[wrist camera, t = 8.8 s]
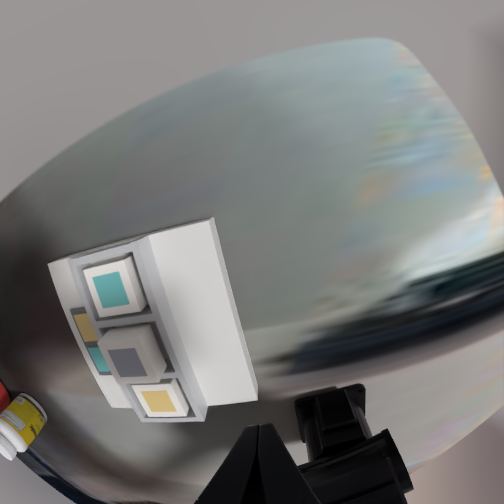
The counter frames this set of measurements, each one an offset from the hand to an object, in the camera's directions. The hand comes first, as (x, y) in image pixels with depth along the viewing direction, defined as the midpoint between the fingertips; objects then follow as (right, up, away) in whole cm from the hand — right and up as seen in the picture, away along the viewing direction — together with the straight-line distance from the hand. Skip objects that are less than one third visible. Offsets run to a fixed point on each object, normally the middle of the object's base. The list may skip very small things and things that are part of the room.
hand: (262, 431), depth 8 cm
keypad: (-8, 0, +14) cm, 16 cm away
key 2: (-7, -5, +13) cm, 15 cm away
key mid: (-8, -1, +10) cm, 13 cm away
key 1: (-9, +4, +11) cm, 15 cm away
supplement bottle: (-30, -15, +18) cm, 38 cm away
